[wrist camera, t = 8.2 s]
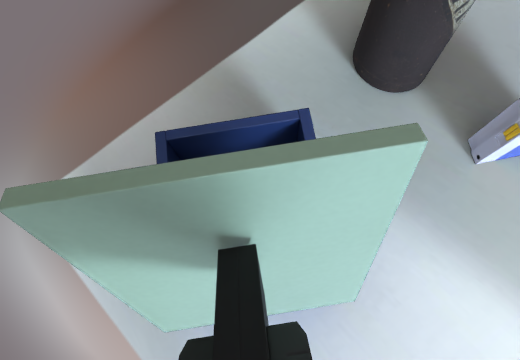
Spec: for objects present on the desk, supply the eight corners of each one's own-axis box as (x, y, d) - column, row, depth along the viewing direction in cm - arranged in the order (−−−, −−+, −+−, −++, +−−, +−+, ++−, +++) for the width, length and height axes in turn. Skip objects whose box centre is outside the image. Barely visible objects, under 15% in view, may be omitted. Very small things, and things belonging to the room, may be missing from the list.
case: (179, 166, 35) (154, 131, 28) (301, 146, 36) (308, 107, 28) (192, 318, 31) (166, 325, 23) (333, 295, 31) (351, 295, 23)
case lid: (4, 187, 10) (-4, 209, 10) (417, 121, 11) (429, 140, 10) (164, 320, 23) (164, 332, 23) (351, 289, 23) (355, 301, 23)
